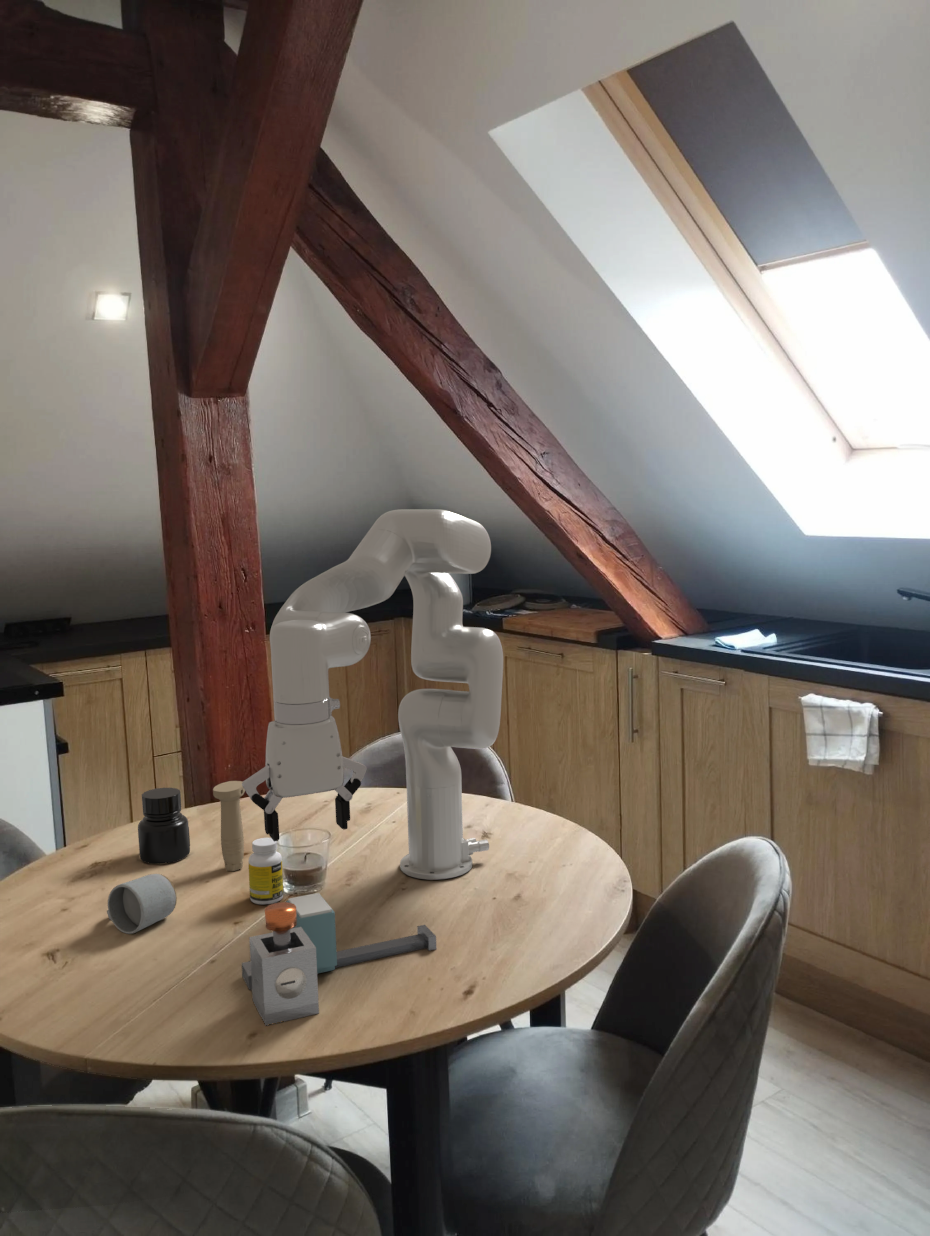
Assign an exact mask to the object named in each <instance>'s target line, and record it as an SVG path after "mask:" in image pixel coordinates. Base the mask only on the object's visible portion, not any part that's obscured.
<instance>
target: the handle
mask: <svg viewBox="0 0 930 1236" xmlns="http://www.w3.org/2000/svg"><path fill="white" fill-rule="evenodd" d="M242 782H243V781H241V780H229V781H225V782H221V783H219V784H217V785H215V786H214V787H213V789H212V795H213V797H214V798H215V799H217V800H219V801H220V845H221V854H222V857H223V858H222V859H223V862H224V868H225V871H228V872H230V871H231V872H235V871H240V870H242V869H243V865H244V862H243V859H244V853H245V847H244V846H245V841H244V840H245V839H244V830H243V821H242V819H243V818H242V811H241V799H240V798H241V797H242V796H244V794H245V793H246V791H245V789H244V788H243V786H242ZM239 869H240V870H239Z"/></svg>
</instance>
